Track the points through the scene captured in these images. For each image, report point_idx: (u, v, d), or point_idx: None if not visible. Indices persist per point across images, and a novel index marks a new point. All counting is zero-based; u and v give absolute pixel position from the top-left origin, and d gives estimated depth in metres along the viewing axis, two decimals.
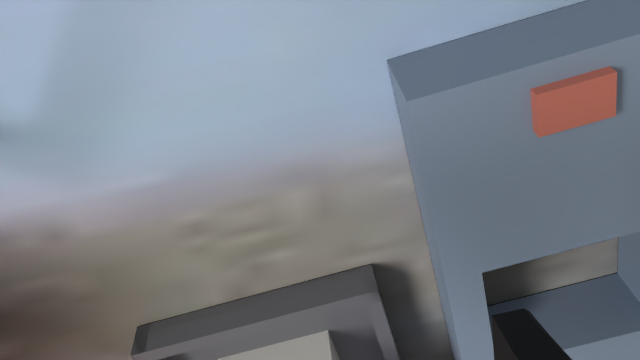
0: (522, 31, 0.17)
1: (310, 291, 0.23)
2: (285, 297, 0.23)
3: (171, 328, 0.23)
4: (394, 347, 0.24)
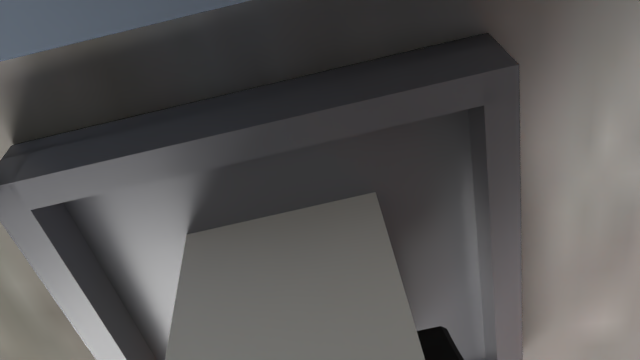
0: None
1: None
2: None
3: None
4: (181, 145, 0.09)
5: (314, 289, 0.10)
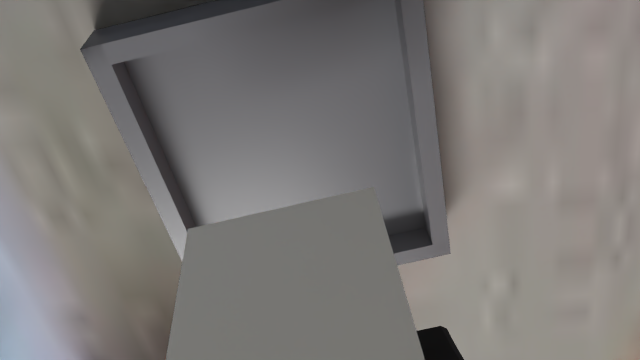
0: None
1: None
2: None
3: None
4: (208, 19, 0.15)
5: (314, 282, 0.10)
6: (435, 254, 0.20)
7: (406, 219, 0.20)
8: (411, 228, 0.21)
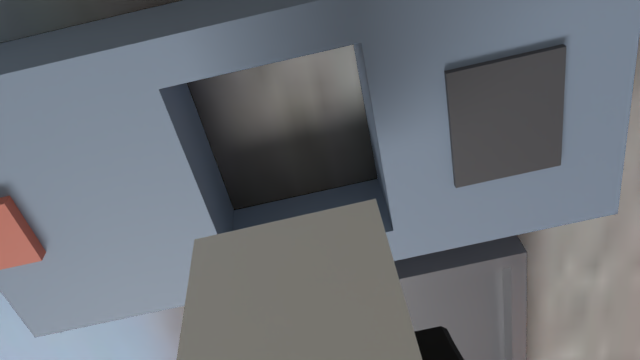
0: None
1: None
2: None
3: None
4: None
5: (318, 293, 0.10)
6: None
7: None
8: None
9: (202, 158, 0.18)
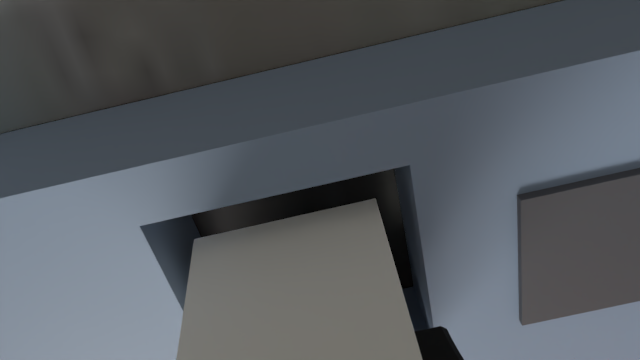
0: None
1: None
2: None
3: None
4: None
5: (318, 293, 0.10)
6: None
7: None
8: None
9: None
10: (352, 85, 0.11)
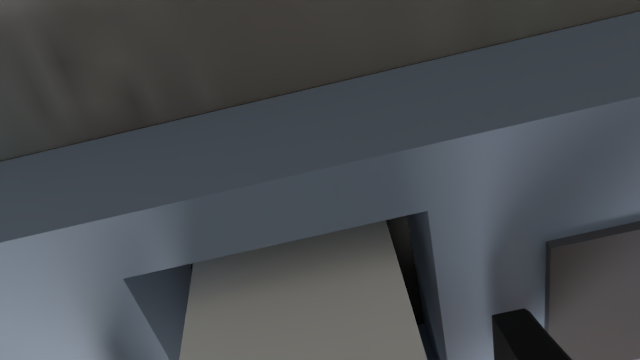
0: None
1: None
2: None
3: None
4: None
5: (317, 256, 0.11)
6: None
7: None
8: None
9: None
10: (361, 119, 0.10)
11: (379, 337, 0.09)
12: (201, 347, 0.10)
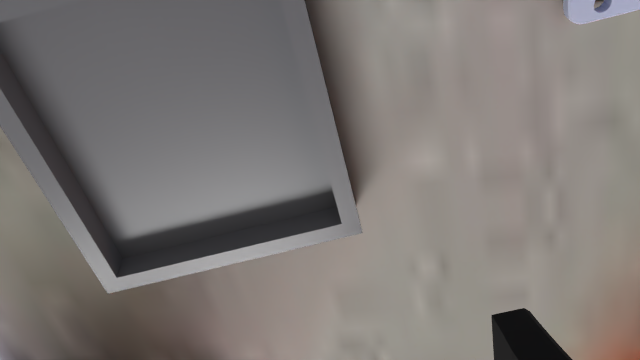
0: None
1: None
2: None
3: None
4: None
5: None
6: (346, 233, 0.19)
7: (316, 198, 0.20)
8: (323, 207, 0.20)
9: None
10: None
11: None
12: None
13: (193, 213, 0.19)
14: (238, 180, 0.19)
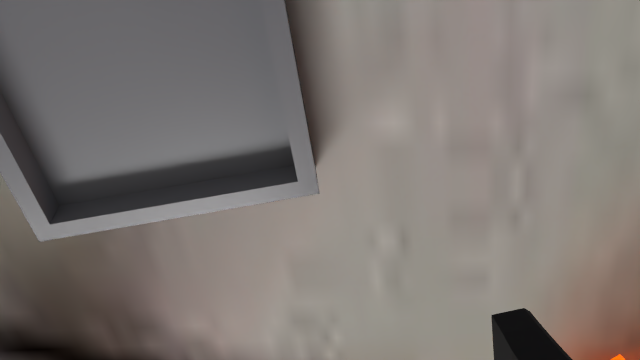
0: None
1: None
2: None
3: None
4: None
5: None
6: (302, 193, 0.18)
7: (273, 153, 0.18)
8: (280, 165, 0.19)
9: None
10: None
11: None
12: None
13: (139, 160, 0.18)
14: (190, 126, 0.17)
